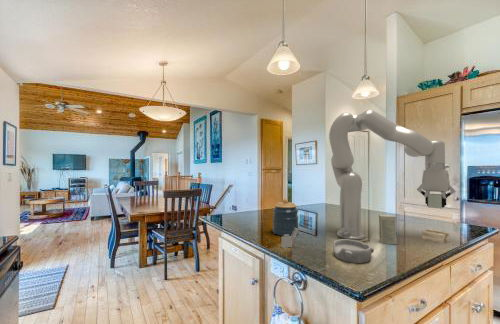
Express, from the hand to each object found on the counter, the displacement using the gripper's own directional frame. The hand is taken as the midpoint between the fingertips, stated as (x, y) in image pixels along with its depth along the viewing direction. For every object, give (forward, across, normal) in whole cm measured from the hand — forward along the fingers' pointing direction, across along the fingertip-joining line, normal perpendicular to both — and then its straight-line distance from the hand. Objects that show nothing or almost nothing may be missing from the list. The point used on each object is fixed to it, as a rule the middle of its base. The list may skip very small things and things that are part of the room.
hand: (435, 205), depth 117 cm
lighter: (+16, +40, +58) cm, 72 cm away
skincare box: (+16, +14, +21) cm, 30 cm away
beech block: (+16, 0, 0) cm, 16 cm away
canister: (+16, +55, +42) cm, 71 cm away
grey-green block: (+1, 0, 0) cm, 1 cm away
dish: (+16, +17, +50) cm, 55 cm away
